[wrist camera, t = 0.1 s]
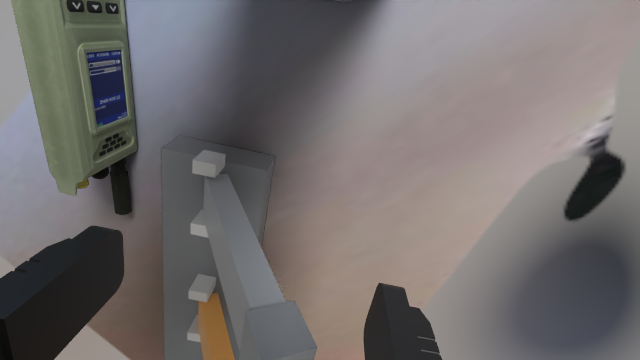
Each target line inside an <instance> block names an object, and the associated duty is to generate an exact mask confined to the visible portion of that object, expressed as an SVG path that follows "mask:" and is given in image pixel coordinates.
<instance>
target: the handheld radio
mask: <svg viewBox="0 0 640 360" xmlns="http://www.w3.org/2000/svg"><path fill="white" fill-rule="evenodd" d="M11 2H12V6H13V11H14V15H15V20H16V24H17V28H18V33H19V37H20V42H21V46H22V50H23V55H24V60H25V64H26V69H27V73H28V77H29V82H30V86H31V91H32V95H33V100H34V104H35V108H36V113H37V117H38V122H39V126H40V131H41V135H42V140H43V144H44V148H45V153H46V157H47V162H48V166H49V171H50V173H51V174H52V176H53V177H54V178H55V180H56V183H57V186H58V189H59V191H60V193H64V194H68V195H72V196H76V194H77V188H79V189H81V188H86V187H87V186H88V185H89V182H88V177H90V176H92V177H93V178H96V179H103V178H105V177H106V176H107V175H108V173H109V169H108V168H109V166H110V168H111V172H110V176H111V184H112V192H113V199H114V207H115V213H116V214H119V215H124V214H128V213H130V212H131V211H132V208H131V199H130V190H129V181H128V172H127V171H126V167H125V164H126V156H128V155H130V154H132V153H133V152H135V151H137V149H138V145H137V134H136V124H135V113H134V102H133V91H132V80H131V69H130V59H129V48H128V37H127V26H126V15H125V4H124V0H11Z"/></svg>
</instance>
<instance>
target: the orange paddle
mask: <svg viewBox="0 0 640 360" xmlns="http://www.w3.org/2000/svg"><path fill="white" fill-rule="evenodd" d="M197 325H198V331H199V336H200V342H201V348H202V354H203V360H235V359H234V355H233V351H232V347H231V343H230V339H229V335H228V331H227V327H226V323H225V319H224V315H223V312H222V308H221V304H220V300H219V296H218V293H214V294H211V296H210V298H209V300H208V302H202V301H199V304H198V324H197Z"/></svg>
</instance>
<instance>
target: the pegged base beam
mask: <svg viewBox="0 0 640 360" xmlns="http://www.w3.org/2000/svg"><path fill="white" fill-rule="evenodd" d="M274 162H275V156H273V155H268V154H263V153H259V152H254V151H249V150H245V149H240V148H235V147H231V146H226V145H221V144H216V143H212V142H207V141H202V140H198V139H193V138H188V137H184V136H178V137H177V138H175V139H174V140H172V141H171V142H169V143H168V144H166V145H165V146H164V147H162V148H161V177H162V241H163V304H164V360H203V354H202V348H201V342H200V336H199V331H198V325H197V324H198V304H199V301H202V302H208V300H209V298H210V296H211V294H214V293H218V296H219V300H220V304H221V308H222V312H223V315H224V319H225V323H226V327H227V331H228V335H229V339H230V343H231V347H232V351H233V355H234V359H235V360H239V354H240V351H239V348H238V344H237V340H236V337H235V333H234V329H233V326H232V322H231V318H230V315H229V311H228V307H227V304H226V300H225V296H224V293H223V289H222V285H221V281H220V278H219V274H218V270H217V267H216V263H215V259H214V256H213V252H212V248H211V245H210V241H209V237H208V234H207V230H206V226H205V223H204V219H203V202H204V181H205V176H208V177H213V178H215V177H216V176H217V175H218V174H228V176H229V178H230V180H231V182H232V185H233V187H234V189H235V191H236V193H237V196H238V198H239V200H240V202H241V204H242V207H243V209H244V211H245V213H246V215H247V218H248V220H249V222H250V224H251V226H252V228H253V231H254V233H255V235H256V237H257V239H258V242H259V244H260V246H261V248H262V242H263V235H264V229H265V222H266V215H267V208H268V202H269V195H270V188H271V182H272V175H273V168H274Z"/></svg>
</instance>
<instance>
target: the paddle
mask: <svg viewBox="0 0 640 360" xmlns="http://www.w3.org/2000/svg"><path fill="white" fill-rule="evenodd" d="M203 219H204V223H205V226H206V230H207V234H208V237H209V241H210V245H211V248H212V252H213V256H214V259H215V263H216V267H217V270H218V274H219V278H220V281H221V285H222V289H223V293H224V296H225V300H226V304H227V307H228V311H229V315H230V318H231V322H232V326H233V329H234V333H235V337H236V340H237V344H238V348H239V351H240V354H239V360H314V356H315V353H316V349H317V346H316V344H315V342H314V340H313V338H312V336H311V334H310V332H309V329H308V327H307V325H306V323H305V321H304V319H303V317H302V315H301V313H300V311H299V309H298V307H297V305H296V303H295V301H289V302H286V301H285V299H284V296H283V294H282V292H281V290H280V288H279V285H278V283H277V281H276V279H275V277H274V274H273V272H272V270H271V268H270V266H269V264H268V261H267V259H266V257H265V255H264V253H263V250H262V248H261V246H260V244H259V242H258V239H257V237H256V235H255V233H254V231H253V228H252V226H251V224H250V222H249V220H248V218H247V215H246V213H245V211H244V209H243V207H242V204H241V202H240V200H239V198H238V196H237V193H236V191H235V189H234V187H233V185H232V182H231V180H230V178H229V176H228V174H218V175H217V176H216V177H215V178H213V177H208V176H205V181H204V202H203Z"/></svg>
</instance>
